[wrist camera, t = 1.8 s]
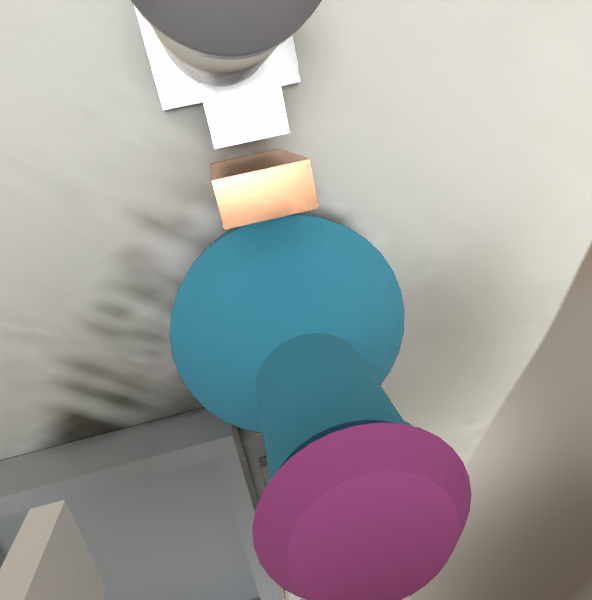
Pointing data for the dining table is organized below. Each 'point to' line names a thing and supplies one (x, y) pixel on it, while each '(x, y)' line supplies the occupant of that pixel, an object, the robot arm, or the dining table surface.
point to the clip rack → (243, 137)
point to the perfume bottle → (320, 407)
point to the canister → (223, 33)
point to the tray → (151, 508)
